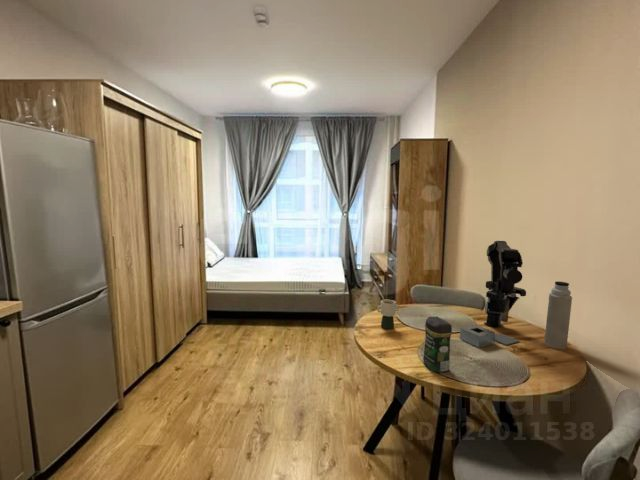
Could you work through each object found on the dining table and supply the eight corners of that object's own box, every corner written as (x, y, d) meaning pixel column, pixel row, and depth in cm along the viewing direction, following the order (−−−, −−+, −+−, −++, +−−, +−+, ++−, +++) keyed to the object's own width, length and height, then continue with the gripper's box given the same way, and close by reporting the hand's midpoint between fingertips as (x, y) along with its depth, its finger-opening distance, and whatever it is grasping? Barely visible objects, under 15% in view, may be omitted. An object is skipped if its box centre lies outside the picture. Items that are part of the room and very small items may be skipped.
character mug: (394, 324, 168) (395, 298, 167) (401, 329, 162) (402, 303, 160) (374, 325, 166) (375, 300, 164) (379, 331, 159) (380, 304, 158)
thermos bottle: (542, 340, 151) (548, 279, 148) (562, 343, 149) (569, 281, 145) (547, 347, 144) (553, 283, 140) (569, 350, 141) (576, 285, 138)
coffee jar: (419, 361, 130) (422, 315, 128) (438, 359, 131) (441, 314, 129) (433, 374, 120) (436, 324, 118) (452, 372, 122) (456, 323, 120)
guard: (475, 335, 156) (476, 324, 156) (494, 343, 147) (495, 332, 147) (459, 338, 152) (460, 328, 151) (478, 347, 143) (479, 336, 142)
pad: (500, 334, 157) (500, 333, 157) (519, 342, 149) (519, 340, 149) (487, 337, 153) (487, 336, 153) (505, 345, 145) (505, 344, 145)
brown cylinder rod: (503, 319, 152) (505, 298, 150) (509, 321, 149) (511, 299, 148) (499, 320, 151) (500, 298, 149) (504, 322, 148) (506, 300, 147)
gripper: (505, 272, 159) (502, 304, 161) (477, 275, 151) (474, 309, 153) (528, 277, 149) (525, 311, 151) (499, 281, 141) (496, 317, 143)
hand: (504, 312), depth 150 cm, fingers closed on brown cylinder rod, 3 cm apart
